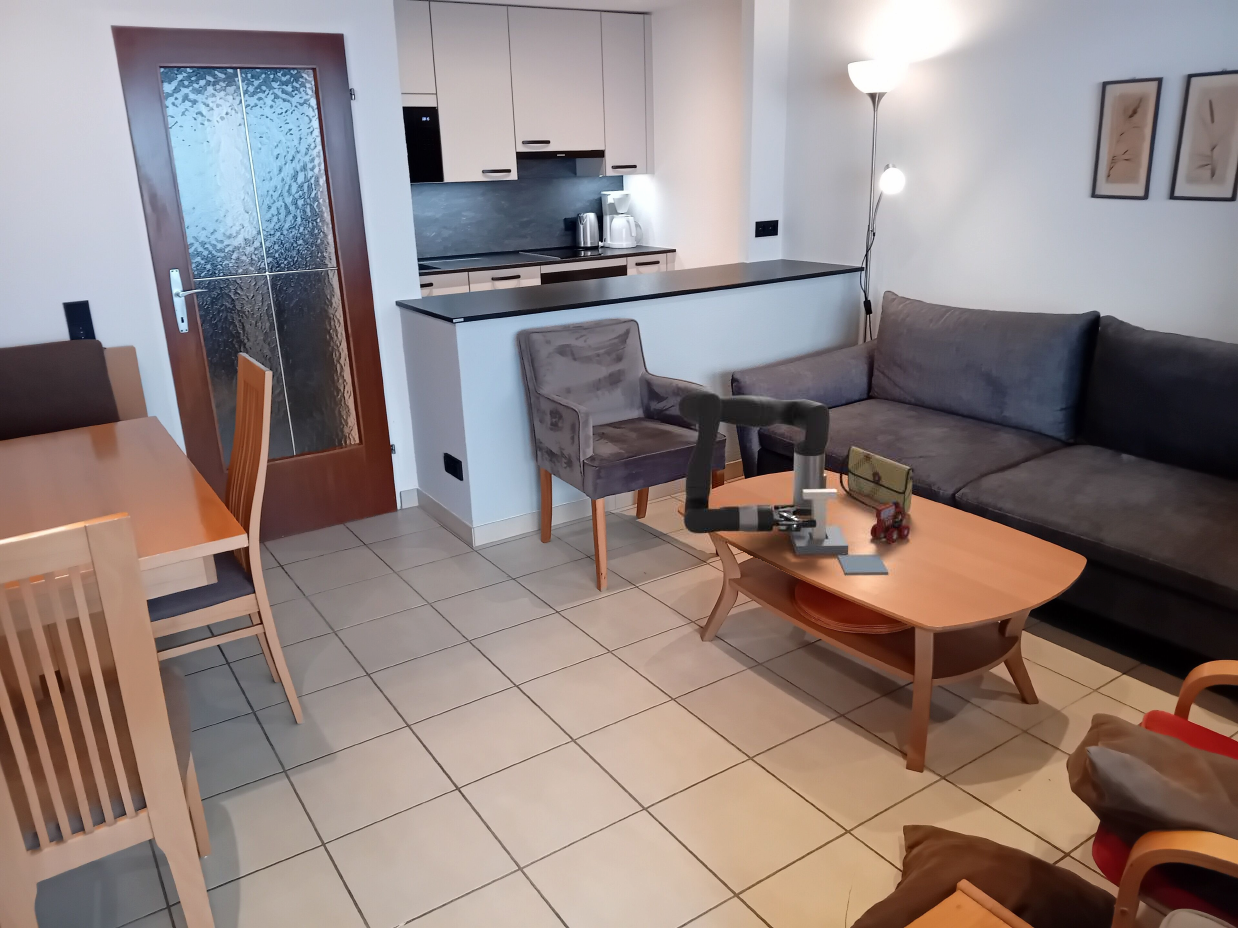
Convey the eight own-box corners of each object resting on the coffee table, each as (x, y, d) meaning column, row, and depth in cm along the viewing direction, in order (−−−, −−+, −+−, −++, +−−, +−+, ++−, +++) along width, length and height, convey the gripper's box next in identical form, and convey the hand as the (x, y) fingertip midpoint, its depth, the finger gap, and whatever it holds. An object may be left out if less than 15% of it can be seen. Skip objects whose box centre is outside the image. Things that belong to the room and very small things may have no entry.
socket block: (796, 554, 241) (796, 546, 240) (789, 534, 254) (790, 526, 254) (848, 553, 240) (848, 545, 239) (838, 533, 253) (839, 525, 253)
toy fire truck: (913, 535, 251) (916, 501, 247) (886, 547, 244) (889, 512, 240) (892, 528, 256) (895, 494, 253) (866, 539, 249) (868, 505, 245)
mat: (845, 574, 228) (845, 572, 228) (837, 556, 239) (837, 554, 239) (888, 573, 228) (888, 571, 227) (878, 556, 238) (878, 554, 238)
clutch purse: (833, 491, 287) (835, 447, 282) (850, 487, 290) (852, 443, 285) (898, 520, 261) (901, 472, 257) (916, 515, 264) (919, 468, 259)
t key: (802, 546, 246) (804, 493, 241) (801, 541, 249) (802, 488, 244) (835, 546, 245) (837, 492, 240) (833, 541, 249) (835, 488, 244)
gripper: (757, 515, 238) (818, 514, 237) (753, 496, 252) (810, 495, 250) (757, 540, 240) (817, 540, 239) (752, 521, 254) (809, 520, 253)
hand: (813, 517), depth 245 cm, fingers open, 8 cm apart
